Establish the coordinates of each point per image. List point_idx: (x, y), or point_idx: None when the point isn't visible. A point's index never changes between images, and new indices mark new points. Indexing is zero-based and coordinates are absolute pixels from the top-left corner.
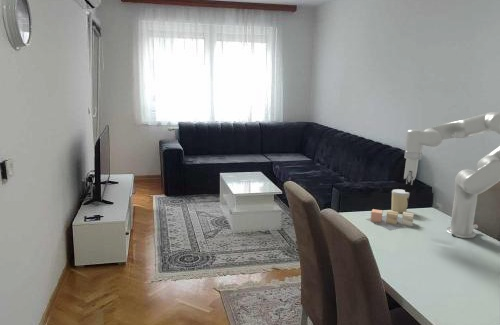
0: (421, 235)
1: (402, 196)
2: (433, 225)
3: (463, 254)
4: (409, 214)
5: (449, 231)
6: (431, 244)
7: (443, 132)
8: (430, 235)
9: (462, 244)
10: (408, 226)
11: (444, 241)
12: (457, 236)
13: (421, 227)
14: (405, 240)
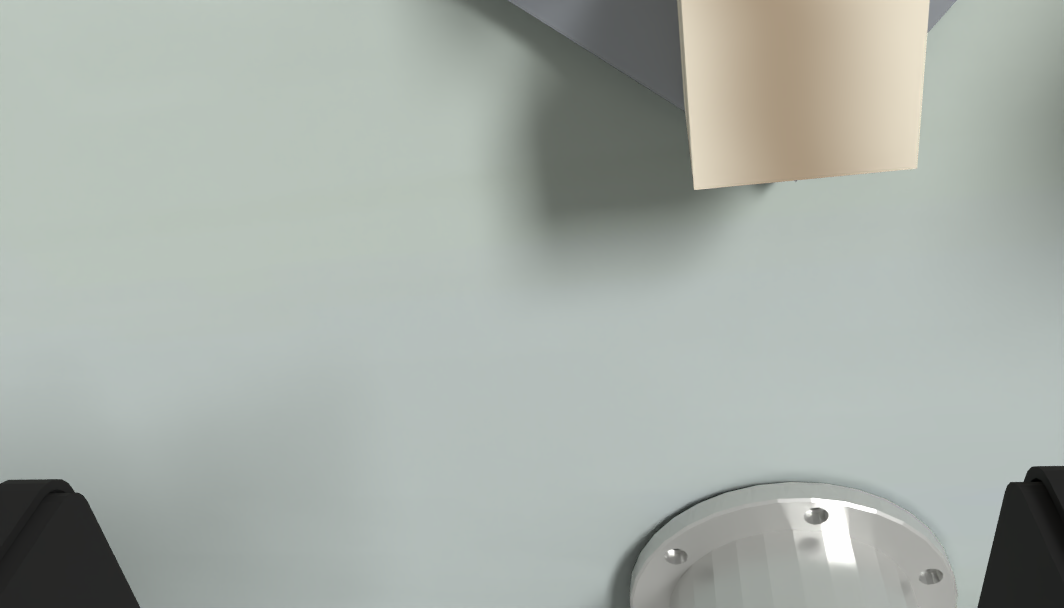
0: (424, 250)
1: None
2: (982, 343)
3: (179, 599)
4: (796, 104)
5: (713, 527)
6: (195, 373)
7: None
8: (506, 342)
9: (443, 597)
10: (619, 53)
11: (404, 472)
12: (632, 575)
13: (792, 212)
14: (54, 94)
